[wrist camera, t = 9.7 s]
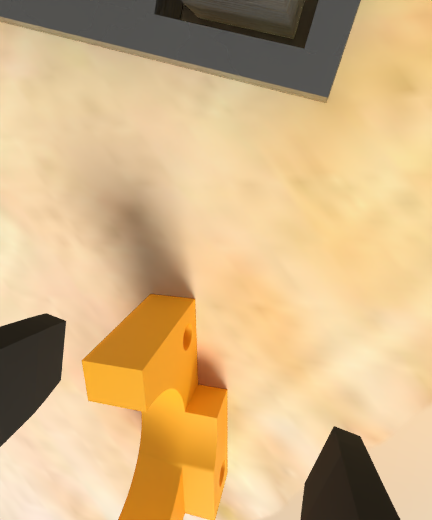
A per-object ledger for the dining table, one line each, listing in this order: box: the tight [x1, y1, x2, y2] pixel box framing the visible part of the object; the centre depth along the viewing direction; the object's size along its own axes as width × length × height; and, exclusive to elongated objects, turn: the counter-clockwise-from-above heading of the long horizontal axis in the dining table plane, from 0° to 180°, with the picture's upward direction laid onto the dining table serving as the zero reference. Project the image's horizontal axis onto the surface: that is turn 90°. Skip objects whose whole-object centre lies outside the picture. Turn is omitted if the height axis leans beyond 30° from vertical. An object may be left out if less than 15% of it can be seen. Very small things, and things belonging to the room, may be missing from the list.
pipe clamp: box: [82, 294, 227, 520], centre depth 18 cm, size 12×4×6 cm, turn 1°
